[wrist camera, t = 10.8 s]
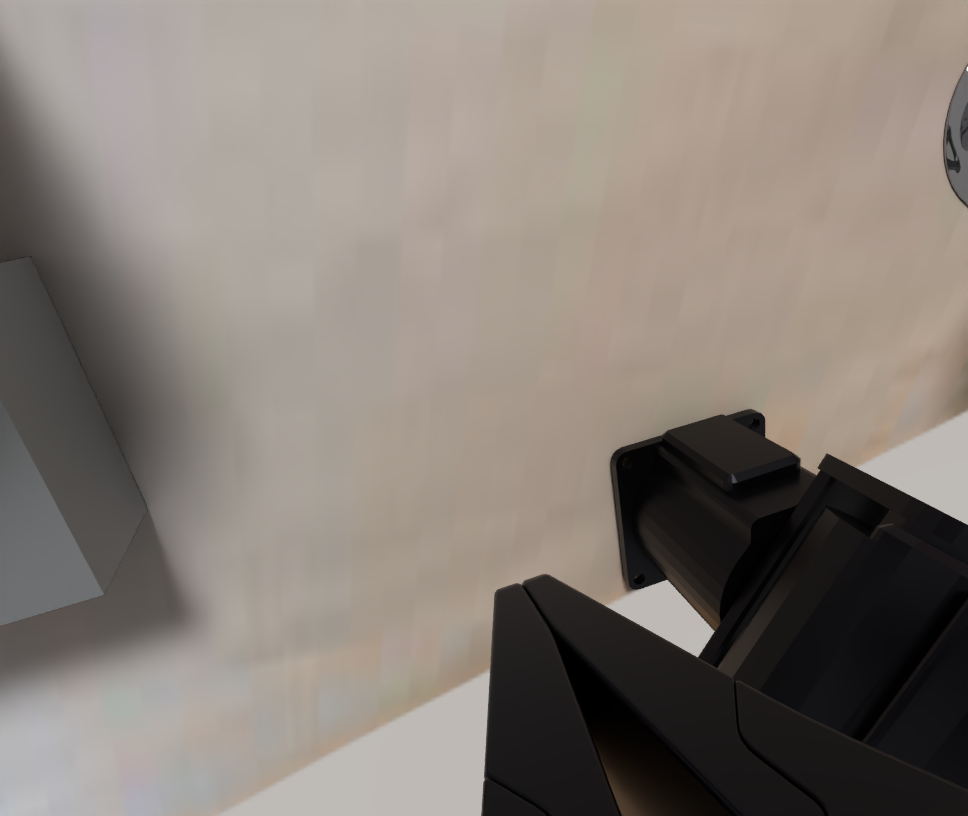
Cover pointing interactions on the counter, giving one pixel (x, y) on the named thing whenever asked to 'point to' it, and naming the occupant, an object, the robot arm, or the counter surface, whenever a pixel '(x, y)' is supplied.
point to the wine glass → (958, 139)
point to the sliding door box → (54, 462)
